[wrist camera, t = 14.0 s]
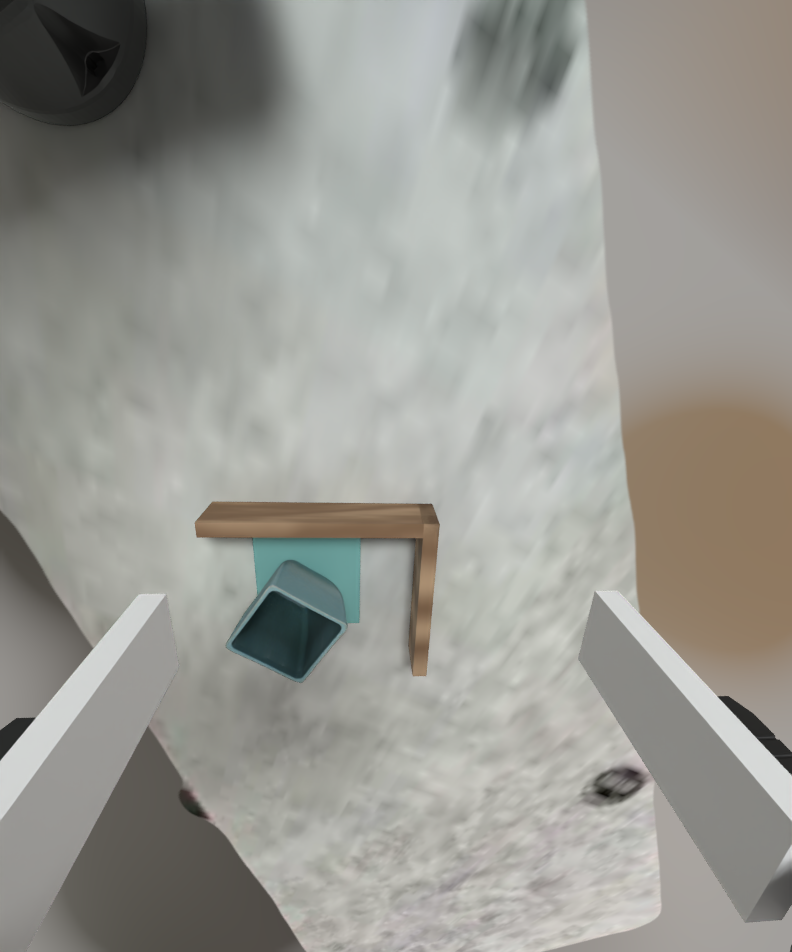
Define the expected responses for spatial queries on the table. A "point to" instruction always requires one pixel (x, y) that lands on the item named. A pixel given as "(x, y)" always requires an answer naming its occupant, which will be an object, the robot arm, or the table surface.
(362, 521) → the corner arena
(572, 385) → the table surface
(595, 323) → the table surface
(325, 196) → the table surface
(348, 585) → the pad
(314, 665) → the flower pot
